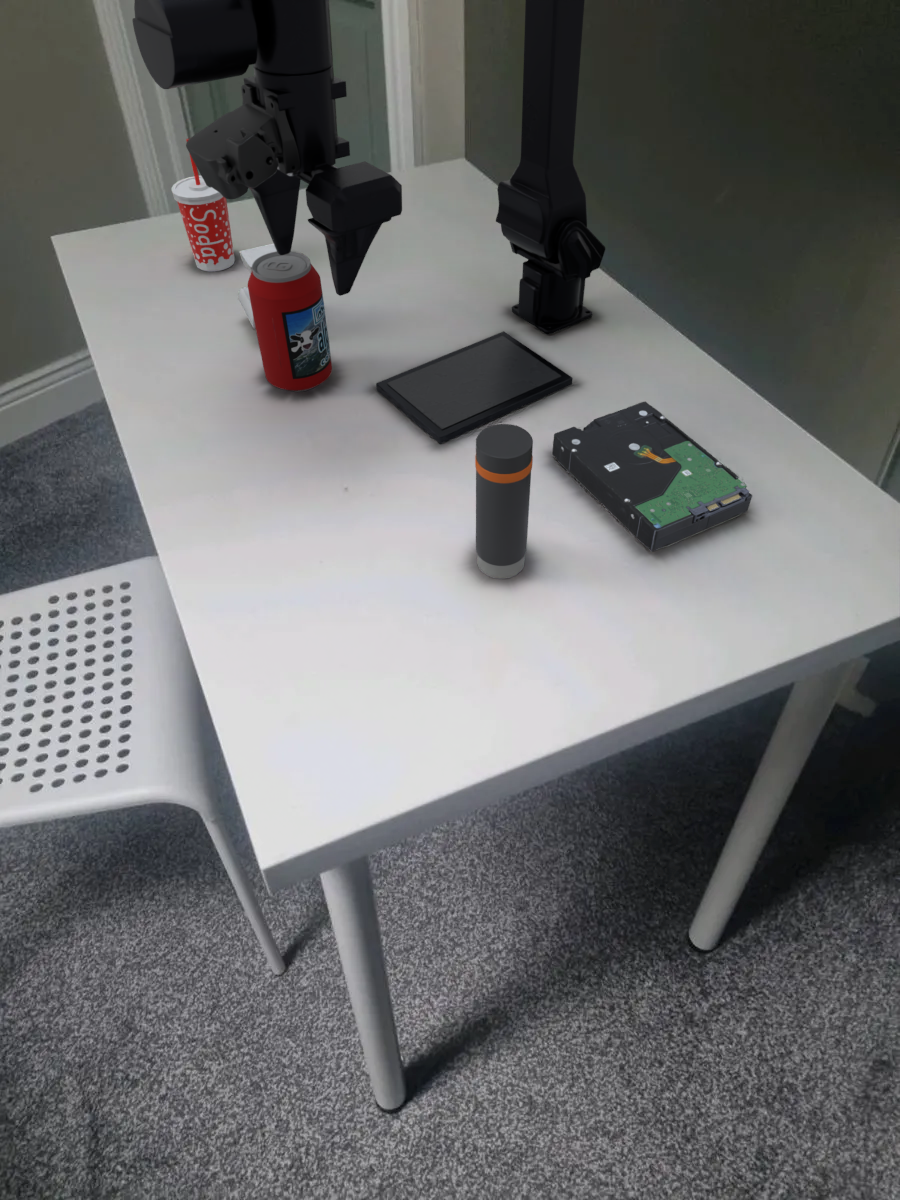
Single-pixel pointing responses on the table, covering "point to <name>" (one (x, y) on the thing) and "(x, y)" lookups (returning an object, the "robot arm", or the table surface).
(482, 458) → the flashlight
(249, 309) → the stamp
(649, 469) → the disk drive
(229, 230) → the beverage cup
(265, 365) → the beverage can
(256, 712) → the table surface
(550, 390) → the tablet
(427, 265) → the table surface
